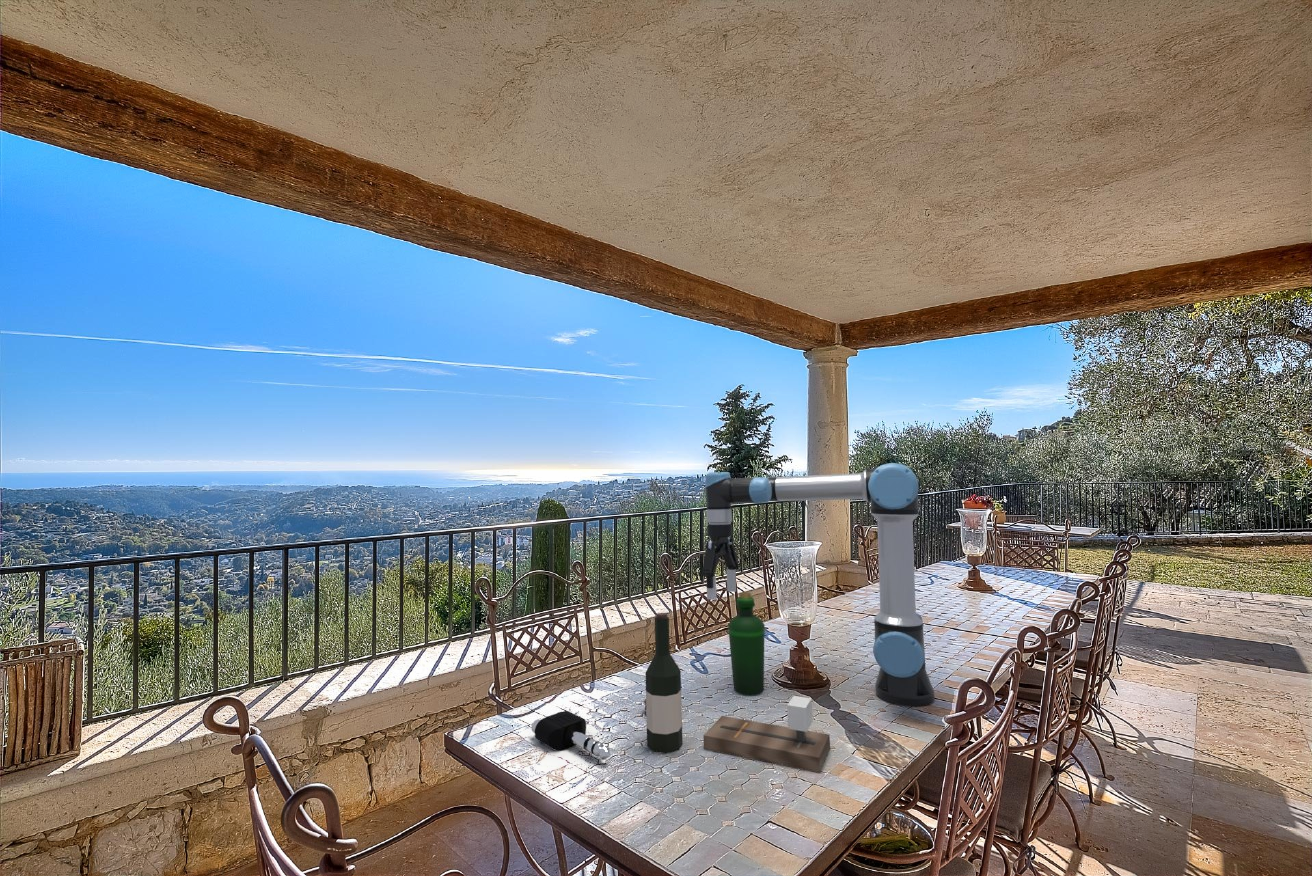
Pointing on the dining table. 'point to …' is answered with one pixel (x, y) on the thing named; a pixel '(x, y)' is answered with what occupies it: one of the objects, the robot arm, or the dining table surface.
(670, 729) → the wine bottle
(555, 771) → the dining table surface
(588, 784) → the dining table surface
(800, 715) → the fader knob
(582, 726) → the audio adapter
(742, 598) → the bottle
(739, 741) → the fader board
